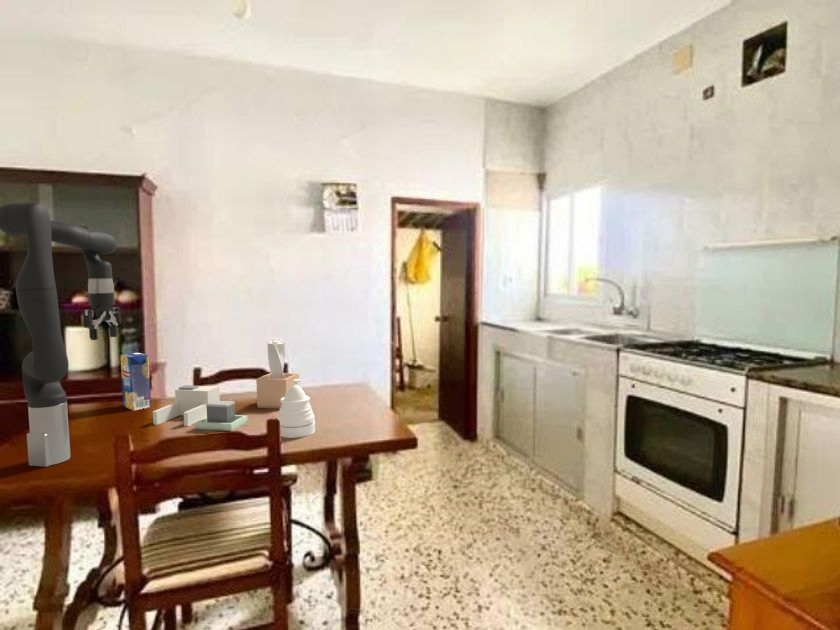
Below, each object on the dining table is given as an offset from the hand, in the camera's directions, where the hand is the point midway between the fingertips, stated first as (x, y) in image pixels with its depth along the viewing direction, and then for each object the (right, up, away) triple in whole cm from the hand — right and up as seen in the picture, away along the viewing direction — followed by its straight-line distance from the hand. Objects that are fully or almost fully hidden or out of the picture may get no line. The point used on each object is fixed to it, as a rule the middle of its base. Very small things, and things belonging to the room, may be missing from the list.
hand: (104, 338), depth 176 cm
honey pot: (+67, -33, 0) cm, 75 cm away
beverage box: (-9, -31, +37) cm, 49 cm away
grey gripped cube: (+38, -32, +8) cm, 50 cm away
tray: (+38, -32, +8) cm, 50 cm away
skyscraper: (+50, -29, +38) cm, 70 cm away
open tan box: (+50, -30, +38) cm, 70 cm away
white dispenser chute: (+20, -32, +19) cm, 42 cm away
